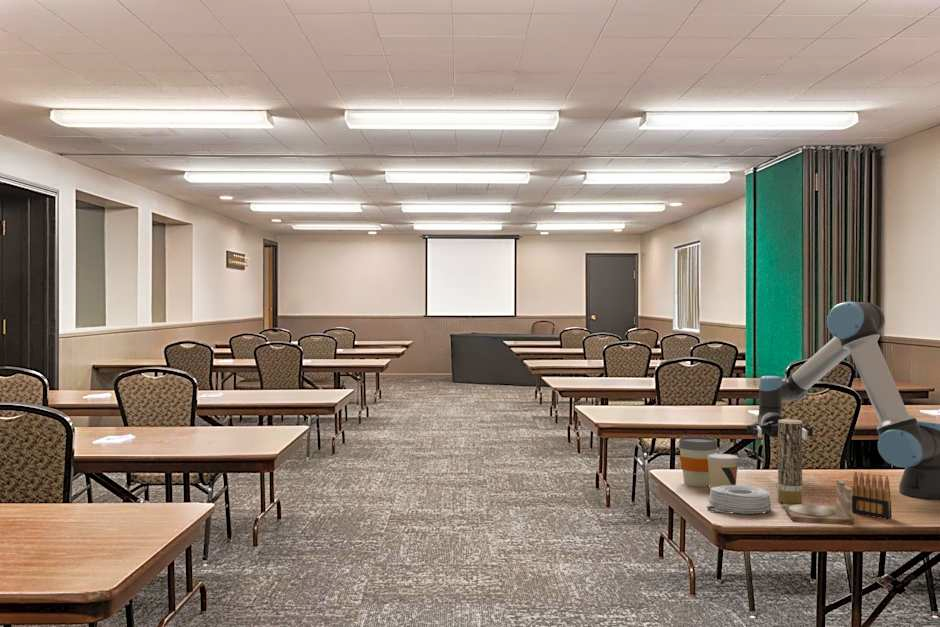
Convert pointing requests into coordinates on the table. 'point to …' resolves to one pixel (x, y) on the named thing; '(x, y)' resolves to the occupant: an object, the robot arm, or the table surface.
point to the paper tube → (790, 461)
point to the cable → (739, 499)
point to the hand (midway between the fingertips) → (783, 434)
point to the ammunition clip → (871, 497)
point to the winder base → (825, 509)
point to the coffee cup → (722, 470)
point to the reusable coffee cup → (696, 459)
